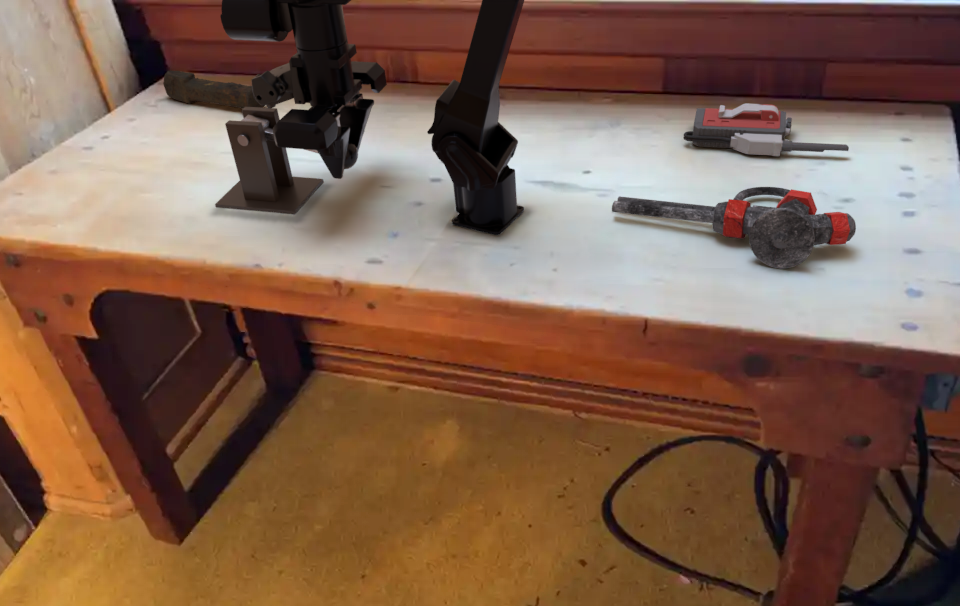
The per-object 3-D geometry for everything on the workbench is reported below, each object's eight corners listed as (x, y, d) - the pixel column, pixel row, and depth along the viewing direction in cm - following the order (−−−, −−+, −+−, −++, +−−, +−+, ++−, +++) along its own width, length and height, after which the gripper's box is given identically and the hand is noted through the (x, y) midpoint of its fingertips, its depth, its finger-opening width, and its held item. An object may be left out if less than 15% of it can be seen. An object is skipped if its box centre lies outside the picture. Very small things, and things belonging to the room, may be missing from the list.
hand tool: (270, 106, 139) (263, 77, 136) (253, 116, 136) (246, 87, 133) (180, 91, 147) (172, 63, 144) (163, 101, 144) (154, 72, 142)
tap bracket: (324, 187, 116) (308, 103, 109) (295, 220, 110) (276, 133, 103) (249, 181, 119) (228, 99, 112) (217, 212, 113) (192, 128, 106)
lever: (362, 164, 109) (363, 137, 107) (350, 178, 107) (351, 151, 104) (251, 134, 112) (250, 107, 109) (237, 146, 109) (236, 119, 107)
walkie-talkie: (680, 154, 116) (847, 162, 111) (683, 122, 113) (853, 129, 108) (687, 125, 122) (844, 132, 117) (689, 94, 119) (850, 99, 114)
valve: (862, 226, 102) (843, 279, 91) (640, 201, 113) (599, 245, 101) (871, 172, 99) (853, 219, 88) (642, 151, 110) (600, 191, 98)
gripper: (293, 11, 108) (316, 133, 118) (214, 70, 94) (248, 202, 104) (379, 14, 105) (395, 138, 115) (310, 75, 91) (336, 211, 101)
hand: (344, 170), depth 109 cm, fingers closed on lever, 3 cm apart
